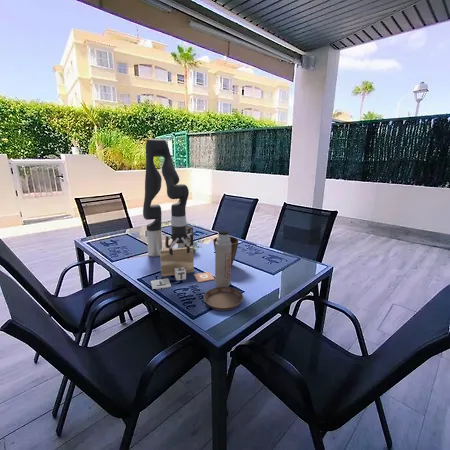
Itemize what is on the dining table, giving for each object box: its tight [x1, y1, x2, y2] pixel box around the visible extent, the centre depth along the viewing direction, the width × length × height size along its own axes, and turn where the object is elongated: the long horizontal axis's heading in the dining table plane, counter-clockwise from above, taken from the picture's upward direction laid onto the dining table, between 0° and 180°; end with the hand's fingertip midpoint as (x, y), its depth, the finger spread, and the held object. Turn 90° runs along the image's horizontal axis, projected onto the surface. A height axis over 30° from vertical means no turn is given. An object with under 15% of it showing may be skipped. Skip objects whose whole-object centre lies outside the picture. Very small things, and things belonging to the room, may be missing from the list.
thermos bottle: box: [214, 230, 232, 287], centre depth 130 cm, size 8×8×28 cm
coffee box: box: [177, 225, 194, 248], centre depth 179 cm, size 9×6×16 cm
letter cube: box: [174, 267, 187, 281], centre depth 139 cm, size 5×5×5 cm
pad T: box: [150, 277, 172, 290], centre depth 132 cm, size 9×9×1 cm
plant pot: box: [212, 236, 239, 267], centre depth 154 cm, size 15×15×16 cm
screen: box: [159, 246, 195, 278], centre depth 144 cm, size 5×18×14 cm, turn 112°
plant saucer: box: [203, 286, 244, 312], centre depth 117 cm, size 18×18×3 cm
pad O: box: [193, 271, 215, 283], centre depth 140 cm, size 9×9×1 cm
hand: (179, 253), depth 136 cm, fingers open, 8 cm apart
